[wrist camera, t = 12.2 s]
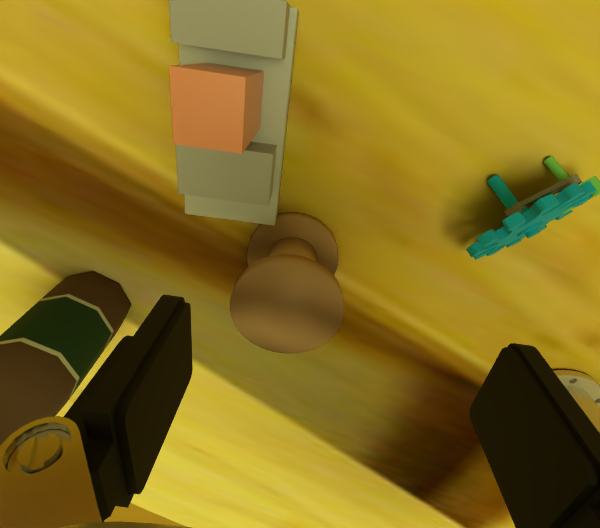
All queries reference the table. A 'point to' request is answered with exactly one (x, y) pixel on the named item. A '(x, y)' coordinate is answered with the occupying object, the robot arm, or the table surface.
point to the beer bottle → (56, 347)
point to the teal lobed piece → (533, 209)
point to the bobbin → (289, 286)
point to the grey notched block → (274, 113)
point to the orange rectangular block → (215, 106)
